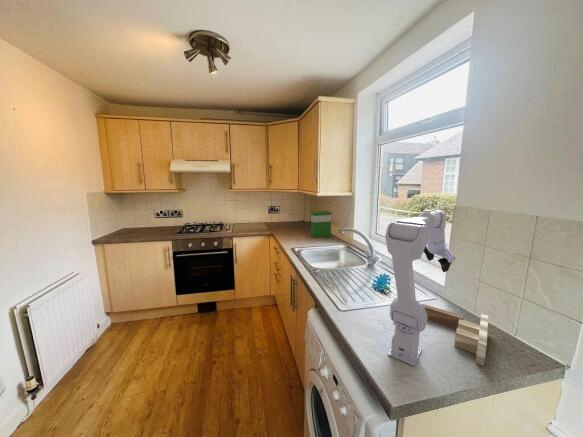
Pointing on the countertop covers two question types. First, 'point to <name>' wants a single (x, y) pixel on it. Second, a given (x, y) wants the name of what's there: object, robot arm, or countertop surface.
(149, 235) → the countertop surface
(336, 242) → the countertop surface
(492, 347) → the countertop surface
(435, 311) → the bed rail
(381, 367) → the countertop surface
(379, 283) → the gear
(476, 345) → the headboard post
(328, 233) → the hardback book
